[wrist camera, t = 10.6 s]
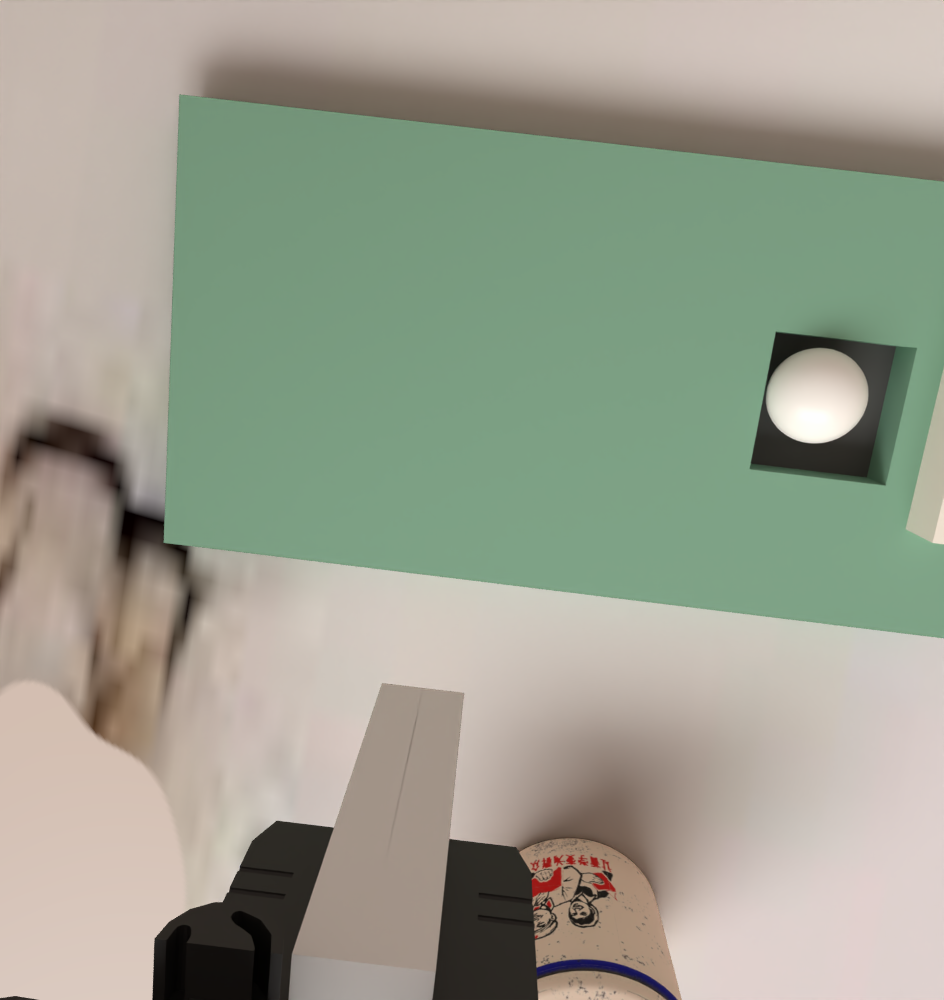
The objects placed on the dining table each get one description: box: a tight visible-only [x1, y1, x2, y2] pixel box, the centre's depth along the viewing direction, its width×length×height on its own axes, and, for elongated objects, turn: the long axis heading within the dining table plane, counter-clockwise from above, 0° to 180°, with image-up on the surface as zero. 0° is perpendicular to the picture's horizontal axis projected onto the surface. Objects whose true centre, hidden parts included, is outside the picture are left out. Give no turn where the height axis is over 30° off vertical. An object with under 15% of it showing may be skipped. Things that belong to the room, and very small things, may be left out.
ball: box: [766, 348, 868, 443], centre depth 33 cm, size 4×4×4 cm
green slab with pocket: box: [164, 95, 944, 638], centre depth 33 cm, size 34×18×4 cm, turn 83°
